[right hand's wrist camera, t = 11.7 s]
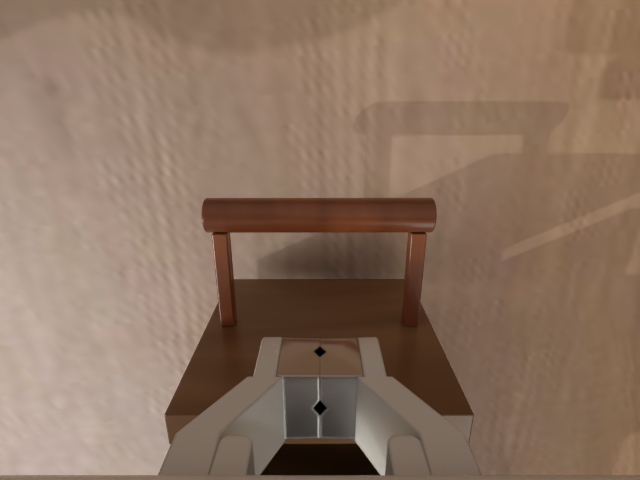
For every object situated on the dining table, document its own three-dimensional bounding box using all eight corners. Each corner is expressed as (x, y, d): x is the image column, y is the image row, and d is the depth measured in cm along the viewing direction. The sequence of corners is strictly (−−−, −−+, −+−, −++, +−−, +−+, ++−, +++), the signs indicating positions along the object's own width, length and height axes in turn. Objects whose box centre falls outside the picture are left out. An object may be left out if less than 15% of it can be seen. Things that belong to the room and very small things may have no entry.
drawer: (219, 176, 19) (135, 249, 10) (418, 175, 19) (502, 248, 10) (250, 527, 28) (218, 732, 19) (388, 527, 28) (420, 732, 19)
